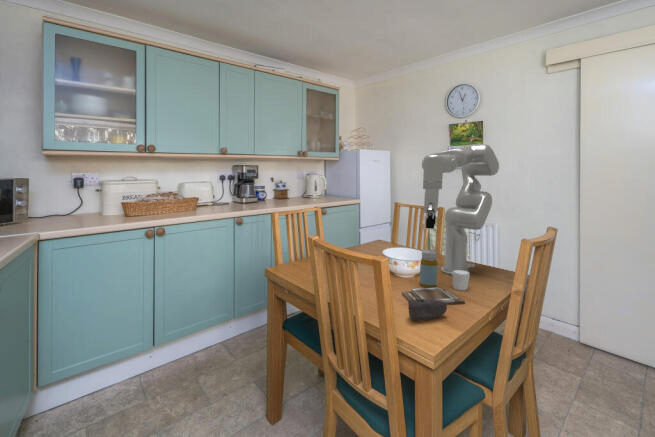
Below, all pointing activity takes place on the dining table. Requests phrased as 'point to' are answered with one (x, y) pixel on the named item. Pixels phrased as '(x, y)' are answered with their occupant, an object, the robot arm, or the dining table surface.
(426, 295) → the dark rectangular tray
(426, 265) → the bottle
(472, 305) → the dining table surface
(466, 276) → the white cylinder
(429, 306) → the perforated stone tool
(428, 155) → the robot arm
